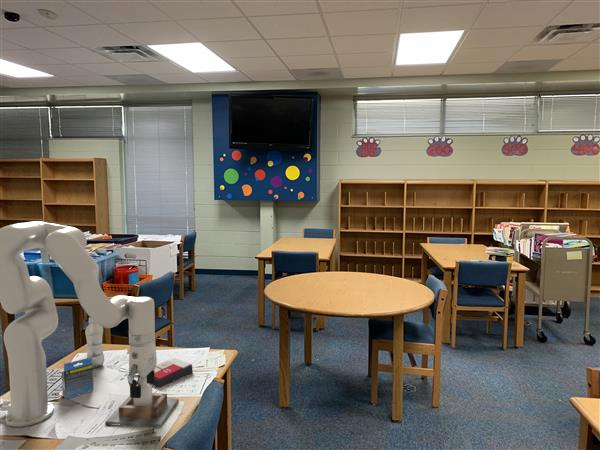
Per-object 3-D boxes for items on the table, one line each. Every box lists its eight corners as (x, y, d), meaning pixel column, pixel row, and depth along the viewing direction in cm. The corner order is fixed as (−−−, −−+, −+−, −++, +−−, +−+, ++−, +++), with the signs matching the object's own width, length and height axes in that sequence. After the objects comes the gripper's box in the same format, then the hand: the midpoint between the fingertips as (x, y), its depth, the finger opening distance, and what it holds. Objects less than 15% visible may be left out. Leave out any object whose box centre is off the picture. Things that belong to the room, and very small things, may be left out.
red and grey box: (141, 370, 152) (174, 355, 164) (141, 381, 153) (175, 365, 165) (159, 379, 146) (192, 362, 158) (160, 390, 146) (193, 373, 159)
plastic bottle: (107, 362, 167) (105, 314, 165) (99, 370, 160) (98, 320, 158) (91, 362, 166) (89, 314, 165) (83, 370, 160) (81, 320, 158)
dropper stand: (105, 424, 123) (104, 411, 123) (129, 399, 138) (128, 387, 138) (160, 427, 122) (160, 414, 122) (178, 401, 137) (178, 390, 137)
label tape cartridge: (90, 387, 146) (89, 353, 145) (93, 391, 143) (92, 357, 142) (62, 395, 140) (60, 360, 139) (65, 399, 137) (63, 364, 136)
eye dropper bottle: (144, 403, 133) (143, 368, 132) (154, 409, 130) (153, 373, 129) (132, 409, 130) (131, 372, 129) (141, 415, 127) (140, 378, 125)
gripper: (141, 348, 119) (142, 404, 121) (164, 328, 136) (165, 377, 138) (116, 347, 120) (117, 403, 121) (142, 327, 137) (143, 376, 138)
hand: (142, 389), depth 129 cm, fingers open, 9 cm apart
